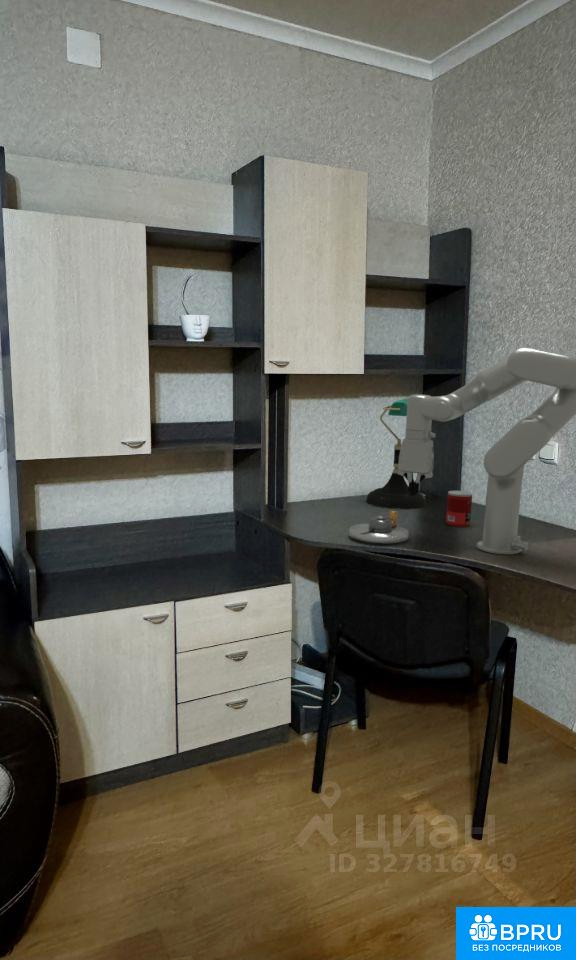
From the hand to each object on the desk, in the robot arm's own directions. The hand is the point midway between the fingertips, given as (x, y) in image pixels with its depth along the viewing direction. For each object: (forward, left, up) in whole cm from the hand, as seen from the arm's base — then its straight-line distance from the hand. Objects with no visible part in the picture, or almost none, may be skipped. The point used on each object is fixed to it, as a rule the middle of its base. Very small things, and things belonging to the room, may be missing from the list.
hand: (413, 494), depth 214 cm
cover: (+4, +10, -11) cm, 15 cm away
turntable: (+5, +9, -13) cm, 17 cm away
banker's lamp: (+37, -40, -14) cm, 56 cm away
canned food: (+1, -28, -14) cm, 31 cm away
